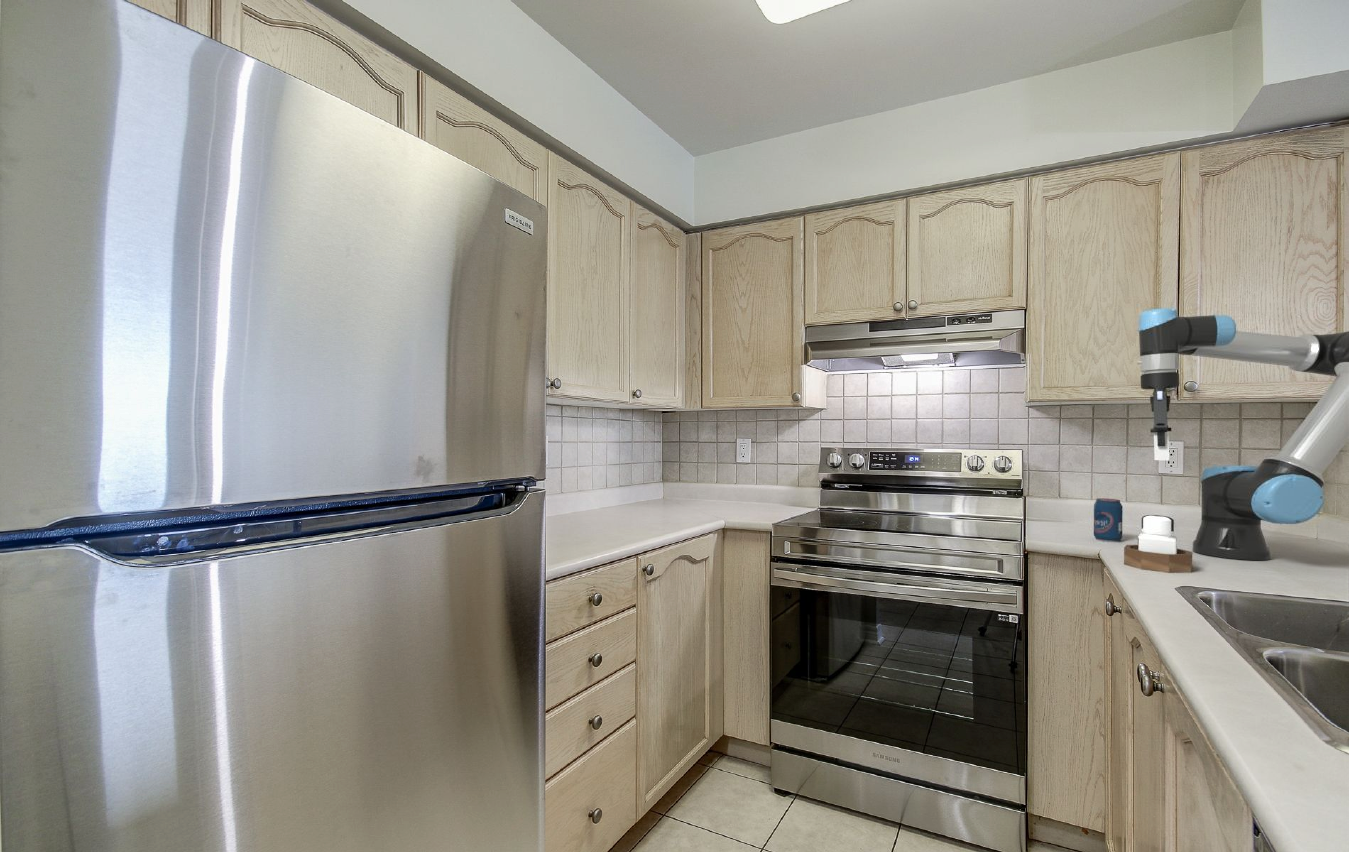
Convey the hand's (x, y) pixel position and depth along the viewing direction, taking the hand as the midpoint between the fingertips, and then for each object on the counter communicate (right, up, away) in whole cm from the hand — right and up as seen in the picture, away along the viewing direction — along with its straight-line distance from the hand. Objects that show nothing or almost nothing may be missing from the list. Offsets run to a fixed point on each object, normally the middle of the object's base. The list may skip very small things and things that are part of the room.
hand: (1162, 458), depth 154 cm
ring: (-6, -25, -6) cm, 26 cm away
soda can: (+7, -26, +30) cm, 40 cm away
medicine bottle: (-6, -25, -6) cm, 27 cm away
